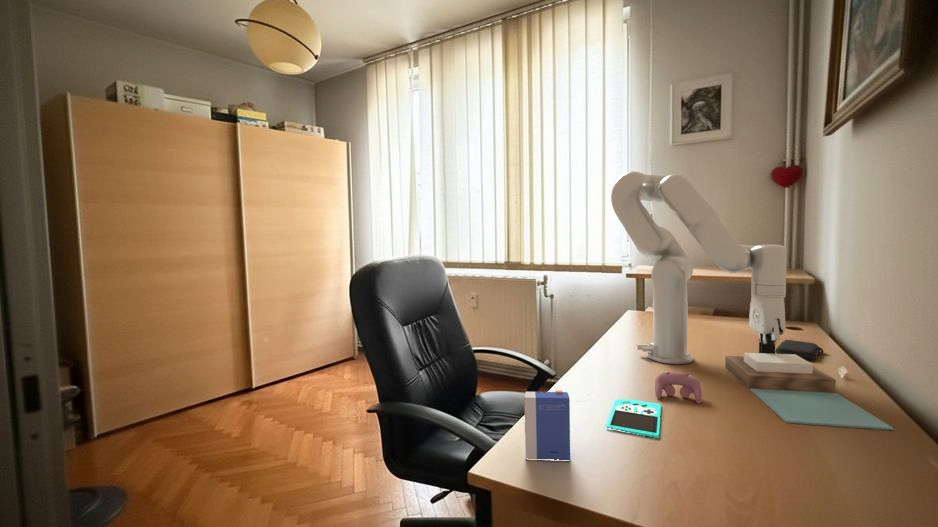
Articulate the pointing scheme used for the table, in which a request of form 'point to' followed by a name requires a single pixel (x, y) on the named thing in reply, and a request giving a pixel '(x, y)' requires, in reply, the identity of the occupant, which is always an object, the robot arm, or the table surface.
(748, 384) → the brown wooden flat block
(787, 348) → the carrying case or bag
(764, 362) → the box
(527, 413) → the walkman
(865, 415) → the mat
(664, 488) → the table surface
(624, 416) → the handheld game console
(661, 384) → the video game controller
